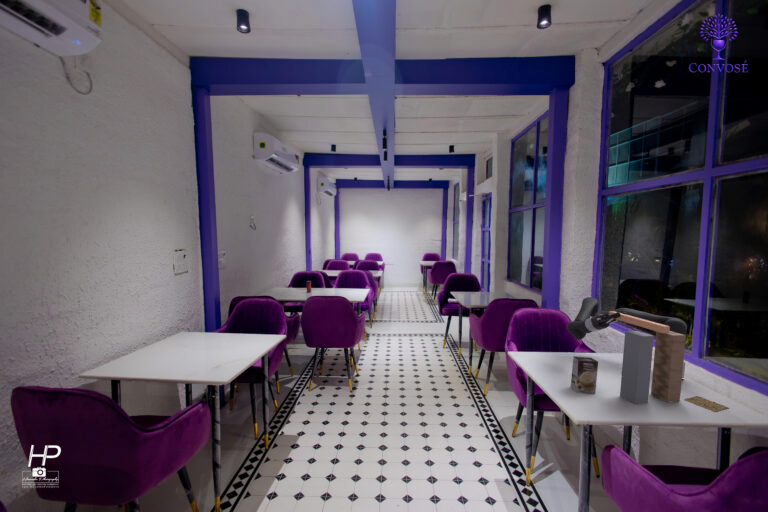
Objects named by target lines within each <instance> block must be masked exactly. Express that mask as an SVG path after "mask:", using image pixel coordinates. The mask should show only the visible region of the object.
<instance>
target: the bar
mask: <svg viewBox="0 0 768 512" xmlns="http://www.w3.org/2000/svg"><path fill="white" fill-rule="evenodd" d="M608 311H609V315H610V314H614V313H617V312H615V311H612V310H608ZM620 315H621V316H620V317H618V318H614V319H617V320H620V321H624V322H627V323H630V324H634V325H633V326H636V325H637V327H641V328H644V329H647V330H651V331H655V332H656V331H657V332H661V333H669V331H670V326H666V325H663V324H659V323H655V322H652V321H648V320H644V319H641V318H637V317H633V316H630V315H626V314H622V313H620ZM630 324H629V325H630Z"/></svg>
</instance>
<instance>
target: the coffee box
mask: <svg viewBox="0 0 768 512" xmlns="http://www.w3.org/2000/svg"><path fill="white" fill-rule="evenodd" d="M571 368H572V369H571V378H570V387H571V389H572V390H574V392H576V393H585V394H596V393H597V392H596V390H597V380H598V369H599V362H598V360H596V359H595V358H593V357H587V356H577V355H576V356H575V355H574V356H572V367H571Z"/></svg>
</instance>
